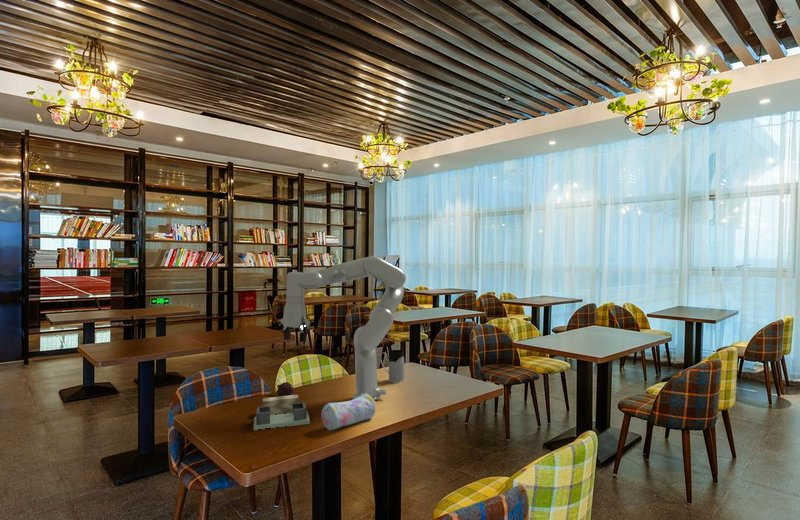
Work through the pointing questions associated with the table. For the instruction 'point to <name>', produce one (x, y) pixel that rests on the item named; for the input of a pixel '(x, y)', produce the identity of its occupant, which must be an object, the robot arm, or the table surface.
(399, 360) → the glass holder
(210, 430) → the table surface
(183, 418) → the table surface
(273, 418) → the base board
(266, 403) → the beige long block
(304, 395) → the table surface
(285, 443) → the table surface
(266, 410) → the end caps
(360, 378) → the robot arm
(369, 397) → the pencil case
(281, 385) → the icecream
